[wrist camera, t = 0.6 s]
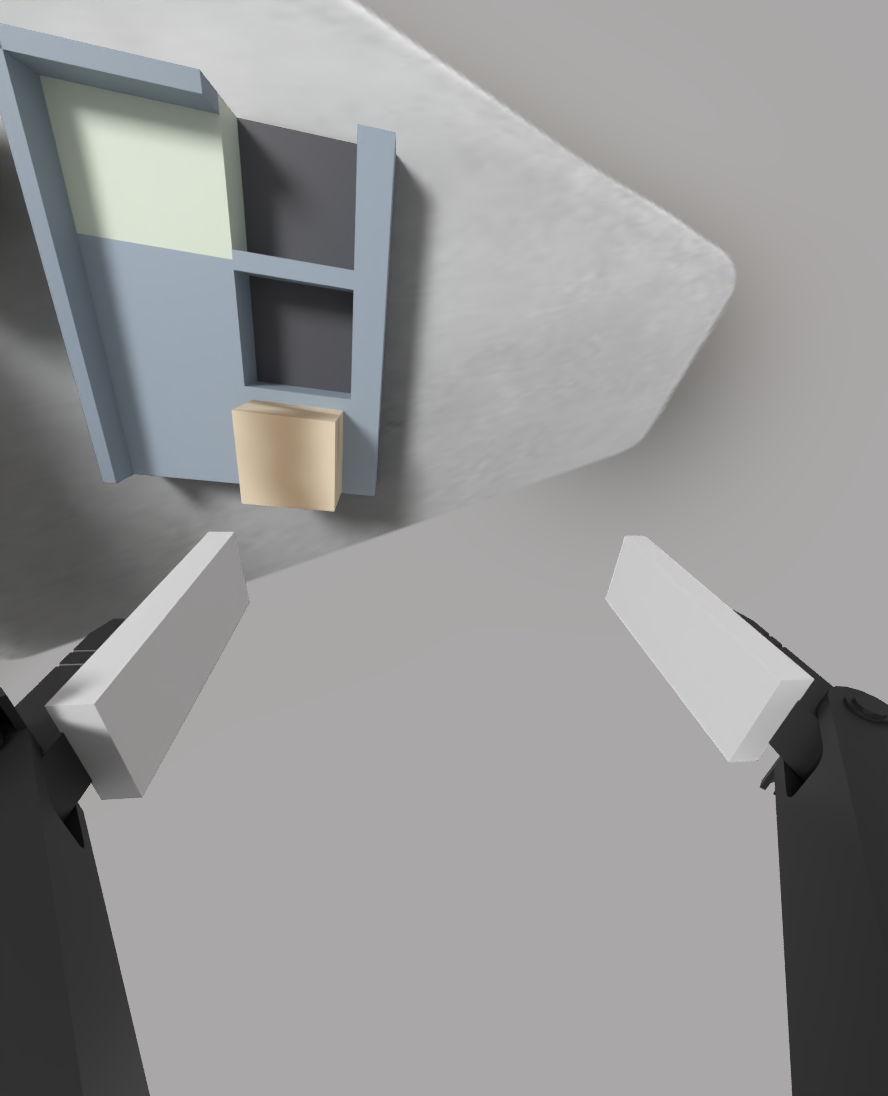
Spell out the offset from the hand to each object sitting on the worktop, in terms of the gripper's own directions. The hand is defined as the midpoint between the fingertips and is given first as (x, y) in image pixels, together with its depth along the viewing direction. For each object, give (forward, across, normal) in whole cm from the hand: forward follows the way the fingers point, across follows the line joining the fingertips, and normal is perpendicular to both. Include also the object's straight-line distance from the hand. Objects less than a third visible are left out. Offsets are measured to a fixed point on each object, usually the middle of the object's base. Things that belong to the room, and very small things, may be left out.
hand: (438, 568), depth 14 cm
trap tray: (+21, -12, +7) cm, 25 cm away
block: (+18, -8, -1) cm, 20 cm away
